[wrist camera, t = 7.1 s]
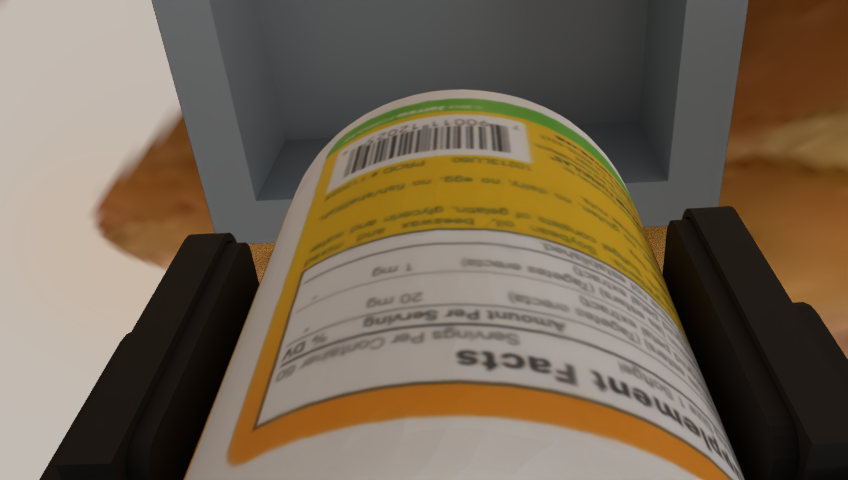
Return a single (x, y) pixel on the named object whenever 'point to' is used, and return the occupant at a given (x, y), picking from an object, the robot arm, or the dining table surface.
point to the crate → (451, 85)
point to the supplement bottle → (463, 316)
